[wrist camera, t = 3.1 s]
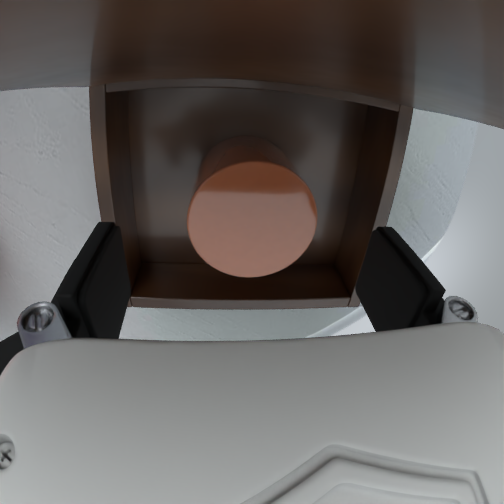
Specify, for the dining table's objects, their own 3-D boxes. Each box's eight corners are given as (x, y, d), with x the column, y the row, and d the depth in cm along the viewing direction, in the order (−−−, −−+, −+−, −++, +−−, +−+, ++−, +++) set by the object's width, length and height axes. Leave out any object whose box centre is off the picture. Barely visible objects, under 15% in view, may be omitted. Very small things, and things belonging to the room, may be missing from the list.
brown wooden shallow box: (339, 267, 22) (359, 306, 19) (134, 264, 20) (119, 307, 17) (376, 90, 15) (415, 100, 12) (119, 74, 14) (88, 77, 10)
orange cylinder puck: (300, 138, 16) (328, 166, 12) (287, 228, 19) (306, 278, 15) (196, 133, 15) (185, 159, 11) (195, 226, 18) (188, 277, 14)
